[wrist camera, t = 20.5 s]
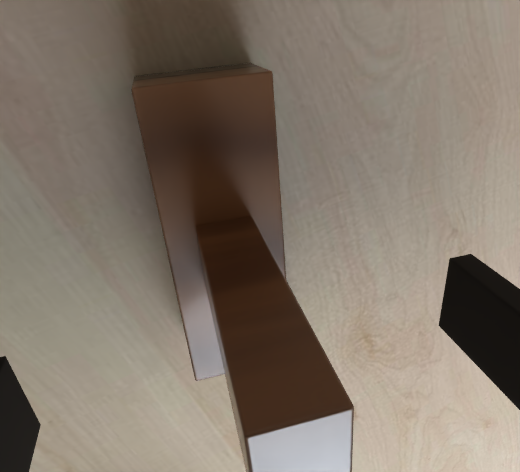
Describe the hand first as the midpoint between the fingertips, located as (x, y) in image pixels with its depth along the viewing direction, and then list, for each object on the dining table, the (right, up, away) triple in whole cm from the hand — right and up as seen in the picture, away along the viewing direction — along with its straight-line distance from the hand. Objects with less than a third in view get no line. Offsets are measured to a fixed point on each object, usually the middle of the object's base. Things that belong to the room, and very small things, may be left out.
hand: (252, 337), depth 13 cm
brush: (-2, +4, +8) cm, 9 cm away
